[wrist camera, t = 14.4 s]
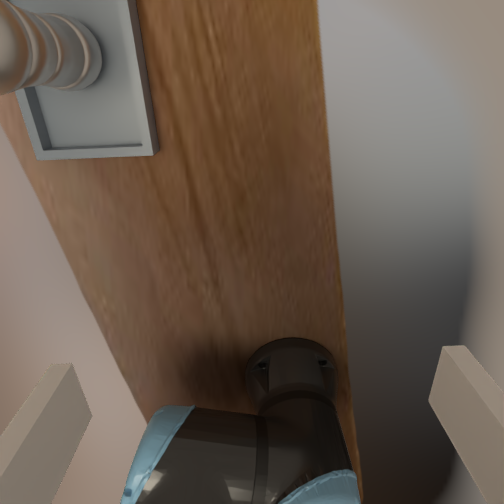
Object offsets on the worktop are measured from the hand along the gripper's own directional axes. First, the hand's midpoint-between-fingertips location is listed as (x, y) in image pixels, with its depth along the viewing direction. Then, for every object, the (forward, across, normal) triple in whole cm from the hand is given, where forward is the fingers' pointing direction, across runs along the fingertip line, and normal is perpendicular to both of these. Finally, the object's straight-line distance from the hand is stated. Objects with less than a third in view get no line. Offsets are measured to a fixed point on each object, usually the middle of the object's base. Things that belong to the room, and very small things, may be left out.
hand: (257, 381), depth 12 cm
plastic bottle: (+32, +17, -13) cm, 38 cm away
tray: (+32, +17, -13) cm, 39 cm away
